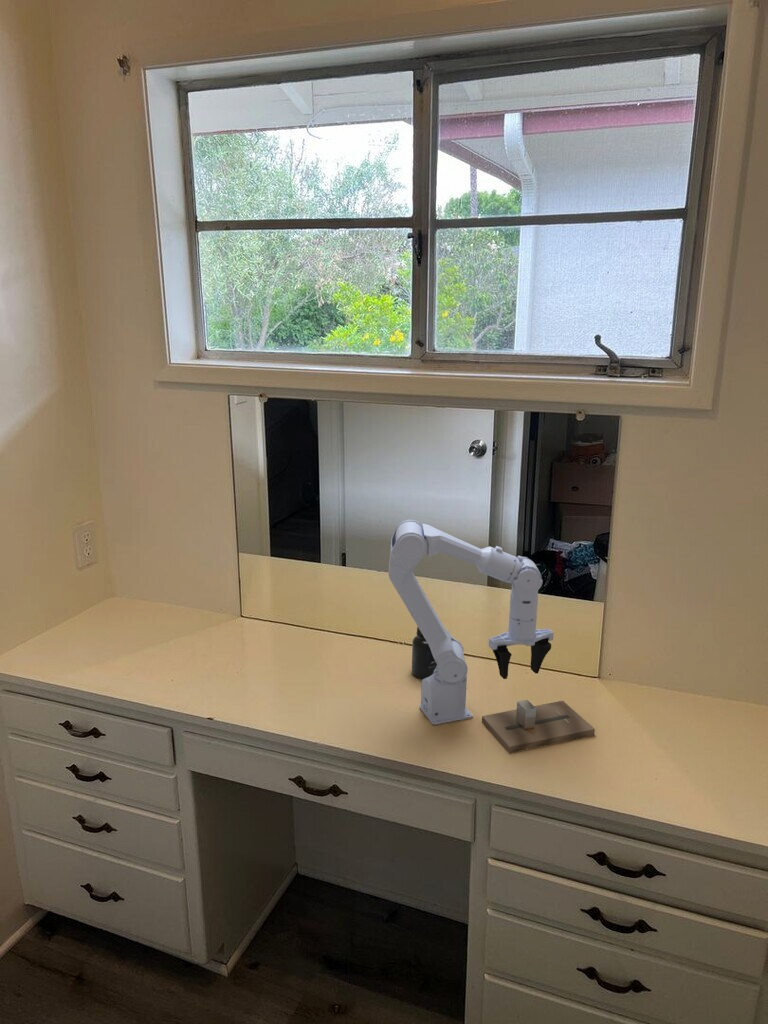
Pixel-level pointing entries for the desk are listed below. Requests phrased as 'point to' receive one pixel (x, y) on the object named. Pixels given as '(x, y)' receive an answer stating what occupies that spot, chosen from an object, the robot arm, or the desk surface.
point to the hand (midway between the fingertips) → (519, 674)
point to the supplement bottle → (422, 657)
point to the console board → (538, 727)
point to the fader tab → (525, 714)
